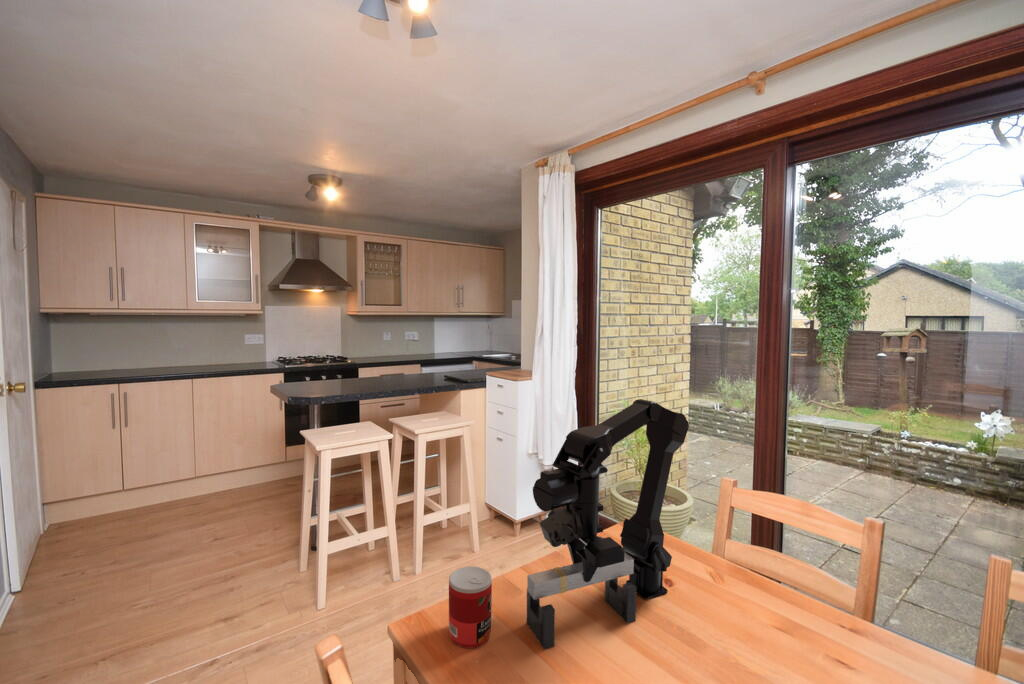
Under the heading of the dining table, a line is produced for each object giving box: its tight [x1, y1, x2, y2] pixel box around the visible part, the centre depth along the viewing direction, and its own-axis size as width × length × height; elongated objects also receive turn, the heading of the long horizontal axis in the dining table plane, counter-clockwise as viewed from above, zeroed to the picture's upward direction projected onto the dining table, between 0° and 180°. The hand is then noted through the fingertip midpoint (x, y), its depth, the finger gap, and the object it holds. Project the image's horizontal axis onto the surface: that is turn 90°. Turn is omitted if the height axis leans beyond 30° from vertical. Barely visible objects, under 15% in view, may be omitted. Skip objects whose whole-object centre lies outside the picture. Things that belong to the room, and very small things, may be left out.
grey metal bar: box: [526, 553, 634, 600], centre depth 87 cm, size 22×3×3 cm, turn 113°
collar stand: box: [526, 578, 637, 650], centre depth 88 cm, size 20×8×7 cm, turn 113°
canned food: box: [448, 566, 493, 649], centre depth 84 cm, size 8×8×11 cm
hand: (582, 576), depth 88 cm, fingers closed on grey metal bar, 3 cm apart
